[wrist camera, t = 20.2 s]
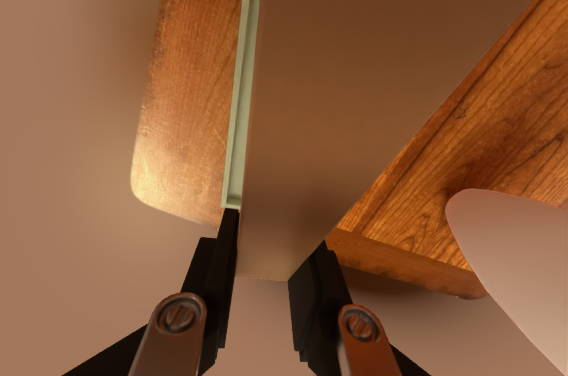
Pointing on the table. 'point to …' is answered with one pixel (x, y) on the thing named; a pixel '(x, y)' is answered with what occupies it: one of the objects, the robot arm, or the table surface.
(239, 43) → the tray
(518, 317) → the cup
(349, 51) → the brush
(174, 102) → the table surface
